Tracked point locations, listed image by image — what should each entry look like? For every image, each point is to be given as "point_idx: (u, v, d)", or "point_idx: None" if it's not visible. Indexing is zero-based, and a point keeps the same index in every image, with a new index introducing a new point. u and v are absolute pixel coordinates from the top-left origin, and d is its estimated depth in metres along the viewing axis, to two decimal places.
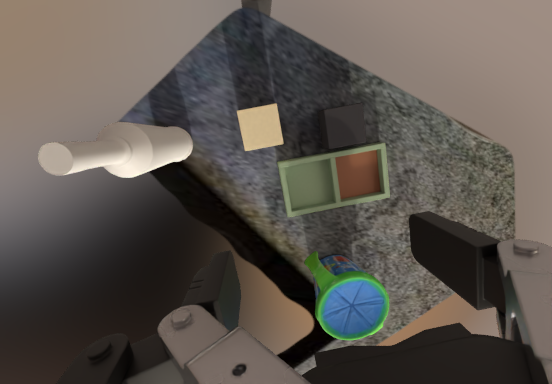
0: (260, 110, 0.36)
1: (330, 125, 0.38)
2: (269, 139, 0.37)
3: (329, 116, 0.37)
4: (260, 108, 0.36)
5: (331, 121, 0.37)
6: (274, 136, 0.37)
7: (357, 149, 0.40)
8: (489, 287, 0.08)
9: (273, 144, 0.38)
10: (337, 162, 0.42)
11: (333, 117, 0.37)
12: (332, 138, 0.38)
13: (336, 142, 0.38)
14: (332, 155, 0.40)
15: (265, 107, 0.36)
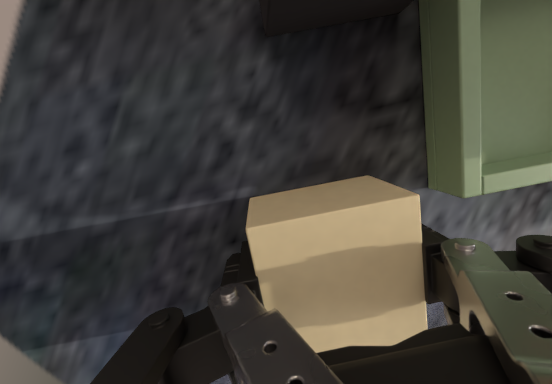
0: (274, 291, 0.09)
1: None
2: (394, 254, 0.09)
3: None
4: (268, 293, 0.09)
5: None
6: (383, 235, 0.09)
7: None
8: (436, 282, 0.09)
9: (417, 237, 0.09)
10: None
11: None
12: None
13: None
14: None
15: (263, 273, 0.09)
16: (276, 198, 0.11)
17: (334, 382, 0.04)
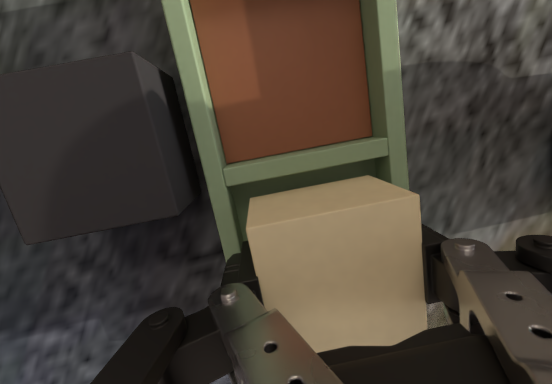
0: (275, 291, 0.09)
1: (82, 217, 0.09)
2: (394, 254, 0.09)
3: (46, 223, 0.09)
4: (268, 293, 0.09)
5: (65, 214, 0.09)
6: (384, 234, 0.09)
7: (186, 82, 0.10)
8: (436, 282, 0.09)
9: (417, 237, 0.09)
10: (244, 147, 0.12)
11: (47, 207, 0.09)
12: (134, 206, 0.09)
13: (148, 188, 0.09)
14: (214, 179, 0.11)
15: (263, 272, 0.09)
16: (276, 198, 0.11)
17: (334, 382, 0.04)
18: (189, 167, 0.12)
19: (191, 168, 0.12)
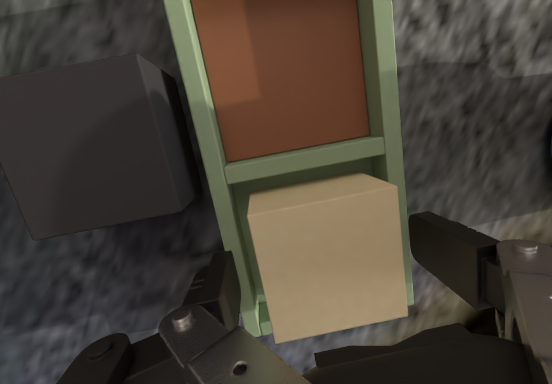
0: (272, 270, 0.10)
1: (88, 213, 0.10)
2: (376, 238, 0.10)
3: (53, 219, 0.10)
4: (267, 273, 0.10)
5: (72, 210, 0.10)
6: (367, 221, 0.10)
7: (188, 82, 0.11)
8: (488, 287, 0.08)
9: (396, 223, 0.10)
10: (245, 146, 0.13)
11: (54, 203, 0.10)
12: (138, 202, 0.10)
13: (152, 186, 0.10)
14: (215, 177, 0.11)
15: (262, 254, 0.10)
16: (274, 191, 0.12)
17: None
18: (191, 165, 0.12)
19: (193, 166, 0.13)
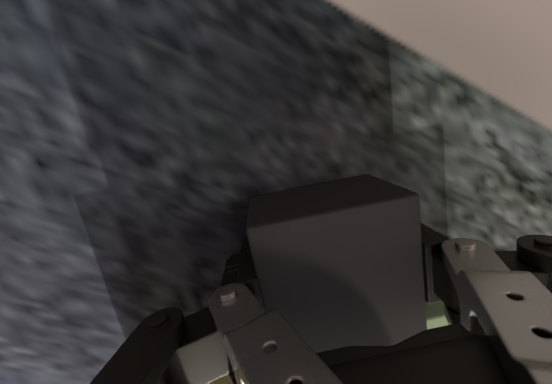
0: None
1: (278, 288, 0.09)
2: None
3: (272, 254, 0.08)
4: None
5: (282, 273, 0.09)
6: None
7: None
8: (436, 282, 0.09)
9: None
10: None
11: (290, 257, 0.08)
12: None
13: None
14: None
15: None
16: None
17: (334, 382, 0.04)
18: None
19: None
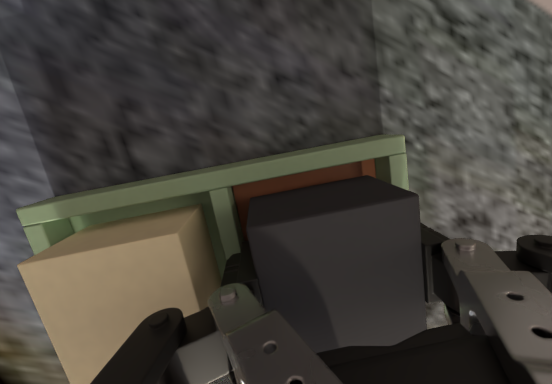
0: (115, 259, 0.09)
1: (278, 288, 0.09)
2: None
3: (272, 254, 0.08)
4: (111, 253, 0.09)
5: (282, 273, 0.09)
6: None
7: (305, 158, 0.11)
8: (436, 282, 0.09)
9: None
10: (247, 199, 0.13)
11: (290, 257, 0.09)
12: None
13: None
14: (216, 180, 0.11)
15: (133, 249, 0.09)
16: (203, 233, 0.12)
17: (334, 382, 0.04)
18: None
19: None
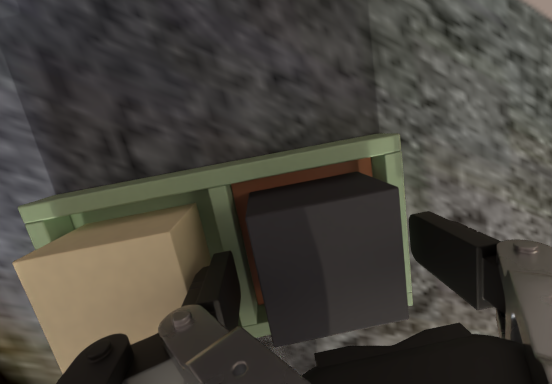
0: (108, 257, 0.09)
1: (274, 271, 0.10)
2: None
3: (269, 240, 0.09)
4: (105, 252, 0.09)
5: (277, 258, 0.10)
6: None
7: (303, 157, 0.12)
8: (489, 287, 0.08)
9: None
10: (246, 197, 0.13)
11: (285, 243, 0.10)
12: (284, 314, 0.10)
13: (299, 326, 0.10)
14: (214, 178, 0.11)
15: (126, 247, 0.09)
16: (197, 232, 0.12)
17: None
18: None
19: None
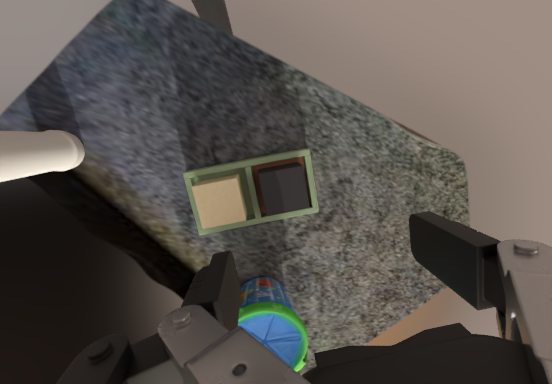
0: (218, 185, 0.32)
1: (266, 190, 0.33)
2: (229, 216, 0.33)
3: (264, 181, 0.32)
4: (217, 184, 0.32)
5: (267, 186, 0.33)
6: (235, 212, 0.33)
7: (276, 156, 0.34)
8: (489, 287, 0.08)
9: (234, 221, 0.33)
10: (257, 171, 0.36)
11: (269, 182, 0.32)
12: (269, 204, 0.33)
13: (274, 209, 0.33)
14: (247, 163, 0.34)
15: (224, 182, 0.32)
16: (240, 182, 0.35)
17: None
18: None
19: None
